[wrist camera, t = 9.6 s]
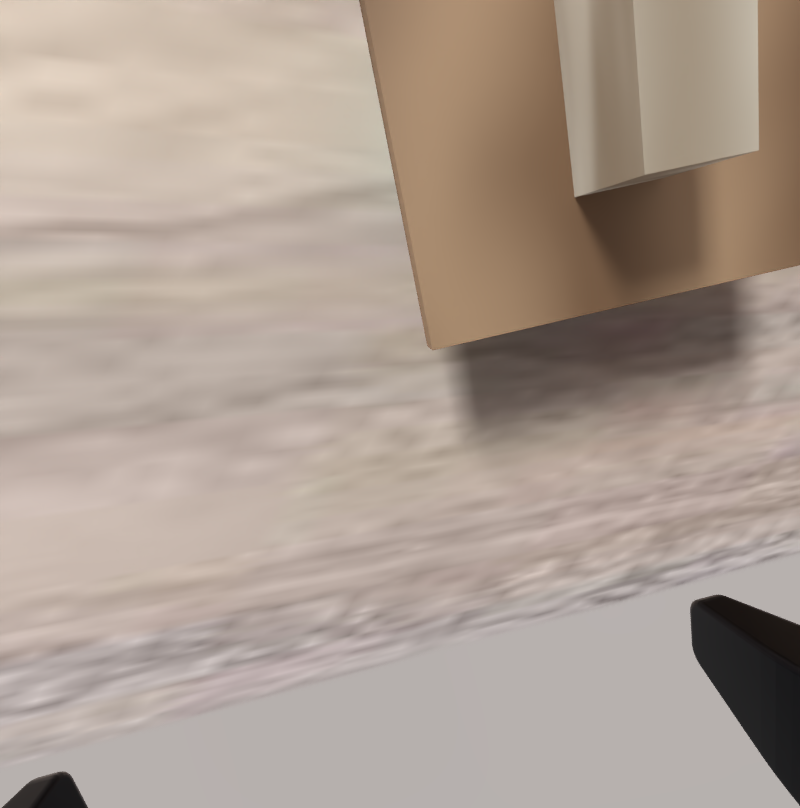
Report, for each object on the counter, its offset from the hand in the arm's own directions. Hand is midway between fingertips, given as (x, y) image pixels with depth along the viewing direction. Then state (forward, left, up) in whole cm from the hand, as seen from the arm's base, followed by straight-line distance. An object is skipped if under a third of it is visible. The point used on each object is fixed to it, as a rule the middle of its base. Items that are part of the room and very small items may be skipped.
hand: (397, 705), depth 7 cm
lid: (-8, -9, -8) cm, 14 cm away
